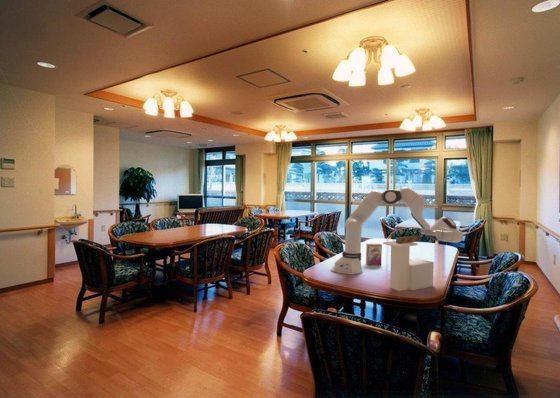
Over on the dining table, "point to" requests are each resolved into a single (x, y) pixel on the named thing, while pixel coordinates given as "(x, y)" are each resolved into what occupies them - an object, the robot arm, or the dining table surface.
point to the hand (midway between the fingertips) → (427, 231)
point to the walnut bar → (408, 239)
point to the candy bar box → (373, 254)
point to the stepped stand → (408, 268)
